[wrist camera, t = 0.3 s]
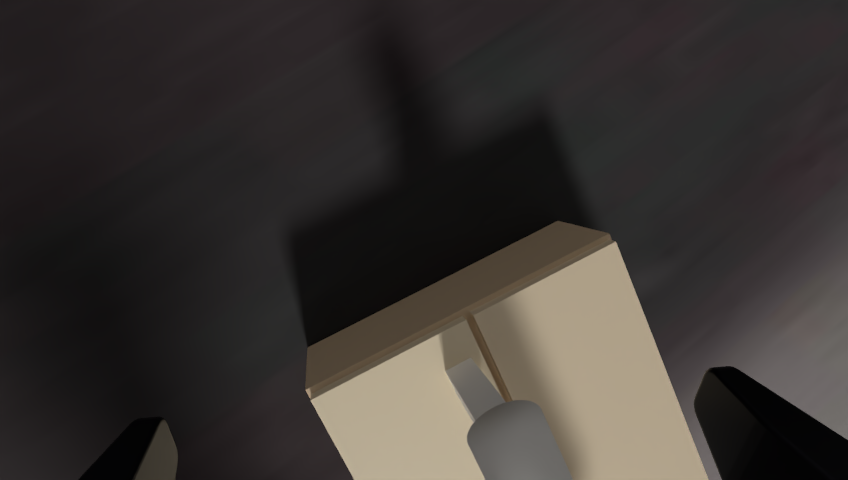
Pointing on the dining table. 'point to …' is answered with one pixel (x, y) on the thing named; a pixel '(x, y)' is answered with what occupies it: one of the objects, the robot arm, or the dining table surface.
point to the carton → (548, 350)
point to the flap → (436, 417)
